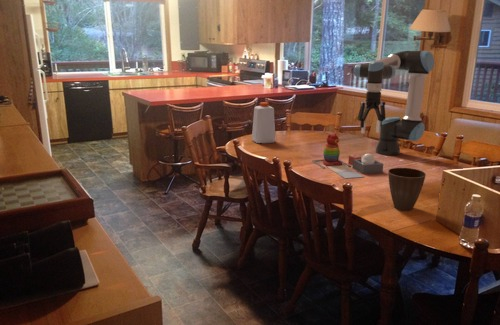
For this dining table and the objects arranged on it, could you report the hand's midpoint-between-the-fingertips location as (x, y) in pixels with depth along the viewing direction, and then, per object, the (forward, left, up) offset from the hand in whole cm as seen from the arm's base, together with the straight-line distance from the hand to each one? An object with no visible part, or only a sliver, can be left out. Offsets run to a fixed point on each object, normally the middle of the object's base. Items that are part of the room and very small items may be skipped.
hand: (370, 132), depth 233 cm
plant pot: (+14, +55, -22) cm, 61 cm away
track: (+14, -7, -21) cm, 26 cm away
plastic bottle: (+36, -84, -22) cm, 94 cm away
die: (+1, -13, -21) cm, 25 cm away
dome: (0, 0, -20) cm, 20 cm away
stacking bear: (+14, -17, -22) cm, 31 cm away
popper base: (0, 0, -21) cm, 21 cm away
